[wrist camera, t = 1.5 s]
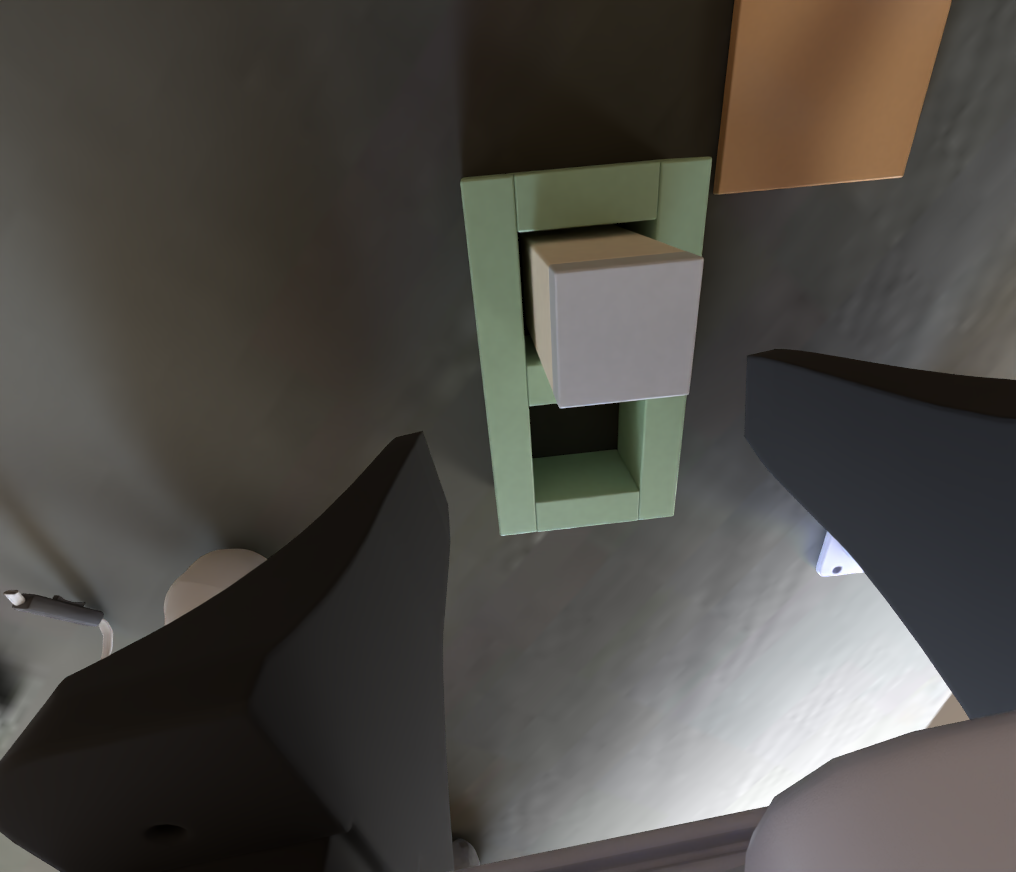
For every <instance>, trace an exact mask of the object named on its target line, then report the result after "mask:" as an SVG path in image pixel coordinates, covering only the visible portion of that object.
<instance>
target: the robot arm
mask: <svg viewBox="0 0 1016 872" xmlns="http://www.w3.org/2000/svg"><path fill="white" fill-rule="evenodd" d="M744 437H745V438H746V440H747V441H748V443H749V444H750V446H751V447H752V449H753V450H754V452H755V453H756V455H757V456H758V457H759V459H760V460H761V461H762V463H763V464H764V465H765V467H766V468H767V469H768V471H769V472H770V473H771V474H772V475H773V476H774V477H775V478H776V479H777V480H778V481H779V482H780V483H781V484H782V485H783V486H784V487H785V489H786V490H787V491H788V492H789V493H790V494H791V495H792V496H793V497H794V498H795V499H796V500H797V501H798V502H799V503H800V504H801V505H802V506H803V507H804V508H805V509H806V510H807V511H808V512H809V513H810V514H811V515H812V516H813V517H814V518H815V519H816V520H817V521H818V522H819V523H820V524H821V525H822V526H823V527H824V528H825V529H826V530H827V533H826V536H825V540H824V543H823V546H822V549H821V553H820V556H819V559H818V562H817V566H816V571H817V572H818V573H819V574H820V575H821V576H823V577H827V576H836V575H844V574H852V573H861V572H864V573H865V574H866V575H867V576H868V578H869V579H870V580H871V581H872V583H873V584H874V585H875V587H876V588H877V589H878V590H879V592H880V593H881V594H882V595H883V597H884V598H885V599H886V600H887V602H888V603H889V604H890V606H891V607H892V608H893V610H894V611H895V613H896V614H897V615H898V617H899V618H900V619H901V621H902V622H903V623H904V625H905V626H906V627H907V629H908V630H909V632H910V633H911V634H912V636H913V637H914V638H915V640H916V641H917V642H918V644H919V645H920V646H921V648H922V649H923V651H924V652H925V654H926V655H927V657H928V658H929V659H930V661H931V662H932V664H933V665H934V667H935V668H936V670H937V671H938V673H939V674H940V675H941V677H942V678H943V680H944V681H945V683H946V684H947V686H948V687H949V689H950V690H951V691H952V693H953V694H954V696H955V697H956V699H957V700H958V702H959V703H960V705H961V706H962V708H963V709H964V711H965V712H966V714H967V716H968V717H969V719H970V720H966V721H962V722H957V723H952V724H947V725H942V726H938V727H934V728H928V729H923V730H918V731H914V732H910V733H907V734H904V735H901V736H898V737H896V738H893V739H890V740H887V741H884V742H881V743H878V744H875V745H872V746H869V747H866V748H863V749H860V750H857V751H854V752H851V753H848V754H845V755H842V756H839V757H836V758H833V759H832V760H830V761H829V762H827V763H825V764H824V765H822V766H821V767H819V768H818V769H816V770H815V771H813V772H812V773H810V774H809V775H807V776H806V777H804V778H803V779H801V780H800V781H798V782H797V783H795V784H793V785H792V786H790V787H789V788H787V789H786V790H784V791H783V792H781V793H780V794H778V795H777V796H775V797H774V799H773V800H772V802H771V804H770V805H769V806H767V807H762V808H757V809H752V810H747V811H743V812H738V813H733V814H728V815H723V816H718V817H713V818H708V819H704V820H699V821H694V822H689V823H684V824H679V825H674V826H670V827H665V828H660V829H655V830H650V831H645V832H640V833H635V834H631V835H626V836H621V837H616V838H611V839H606V840H601V841H596V842H592V843H587V844H582V845H577V846H572V847H567V848H562V849H558V850H553V851H548V852H543V853H538V854H533V855H528V856H523V857H519V858H514V859H509V860H504V861H499V862H494V863H489V864H484V865H480V866H475V867H470V868H465V869H460V870H455V871H454V858H453V845H452V832H451V820H450V805H449V788H448V772H447V755H446V735H445V712H444V683H443V629H444V616H445V604H446V592H447V580H448V567H449V554H450V526H449V512H448V503H447V500H446V497H445V494H444V491H443V489H442V486H441V483H440V480H439V477H438V474H437V471H436V468H435V466H434V463H433V460H432V457H431V454H430V451H429V448H428V445H427V443H426V440H425V437H424V434H423V431H421V432H417V433H413V434H408V435H404V436H400V437H396V438H395V439H393V440H392V441H391V442H390V443H389V444H388V445H387V446H386V447H385V448H384V449H383V450H382V452H381V453H380V454H379V455H378V456H377V457H376V458H375V459H374V460H373V462H372V463H371V464H370V465H369V466H368V467H367V468H366V469H365V470H364V472H363V473H362V474H361V475H360V476H359V477H358V478H357V479H356V480H355V481H354V483H353V484H352V485H351V486H350V487H349V488H348V489H347V490H346V491H345V492H344V493H343V494H342V495H341V496H340V497H339V498H338V499H337V500H336V501H335V502H334V503H333V504H332V505H331V506H330V507H329V508H328V509H327V510H326V511H325V512H324V513H323V514H322V515H321V516H320V517H318V518H317V519H316V520H315V521H314V522H313V523H312V524H311V525H310V526H308V527H307V528H306V529H305V530H304V531H303V532H302V533H300V534H299V535H298V536H297V537H295V538H294V539H293V540H292V541H291V542H289V543H288V544H287V545H286V546H284V547H283V548H282V549H281V550H279V551H278V552H277V553H276V554H274V555H273V556H271V557H270V558H269V559H267V560H266V561H264V562H263V563H262V564H260V565H259V566H257V567H256V568H255V569H253V570H252V571H250V572H249V573H248V574H246V575H245V576H243V577H242V578H240V579H239V580H238V581H236V582H235V583H233V584H232V585H231V586H229V587H228V588H226V589H225V590H223V591H221V592H220V593H218V594H217V595H215V596H213V597H212V598H210V599H209V600H207V601H206V602H204V603H202V604H201V605H199V606H198V607H196V608H194V609H193V610H191V611H189V612H187V613H186V614H184V615H182V616H181V617H179V618H177V619H176V620H174V621H172V622H171V623H169V624H167V625H165V626H164V627H162V628H160V629H158V630H156V631H155V632H153V633H151V634H149V635H147V636H146V637H144V638H142V639H140V640H138V641H136V642H134V643H132V644H130V645H128V646H126V647H124V648H123V649H121V650H119V651H117V652H115V653H113V654H111V655H109V656H107V657H105V658H103V659H101V660H100V661H98V662H96V663H94V664H92V665H90V666H88V667H86V668H84V669H82V670H80V671H78V672H76V673H74V674H72V675H70V676H68V677H66V678H65V679H64V680H63V681H62V682H61V683H60V684H59V685H58V687H57V688H56V689H55V691H54V692H53V693H52V695H51V696H50V697H49V699H48V700H47V701H46V703H45V704H44V705H43V707H42V708H41V709H40V710H39V712H38V713H37V714H36V716H35V717H34V718H33V719H32V721H31V722H30V723H29V725H28V726H27V727H26V729H25V730H24V731H23V732H22V734H21V735H20V736H19V738H18V739H17V740H16V741H15V743H14V744H13V745H12V747H11V748H10V749H9V750H8V752H7V753H6V754H5V756H4V757H3V758H2V759H1V761H0V832H1V833H2V834H4V835H5V836H6V837H7V838H9V839H10V840H11V841H12V842H14V843H15V844H17V845H18V846H20V847H22V848H23V849H25V850H26V851H28V852H30V853H31V854H33V855H34V856H36V857H38V858H39V859H41V860H43V861H44V862H46V863H47V864H49V865H51V866H52V867H54V868H55V869H57V870H59V871H60V872H1016V380H1010V379H997V378H984V377H974V376H964V375H955V374H947V373H940V372H932V371H925V370H917V369H910V368H903V367H897V366H890V365H884V364H878V363H872V362H866V361H860V360H855V359H849V358H843V357H837V356H831V355H825V354H819V353H813V352H805V351H798V350H787V349H774V350H769V351H765V352H761V353H757V354H752V355H748V356H747V374H746V405H745V435H744Z"/></svg>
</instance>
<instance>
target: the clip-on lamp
mask: <svg viewBox="0 0 1016 872" xmlns="http://www.w3.org/2000/svg"><path fill="white" fill-rule="evenodd" d="M266 560H267V558H265V557H263V556H262V555H260V554H258V553H256V552H254V551H251V550H247V549H220V550H216V551H212V552H210V553H208V554H205V555H203V556H201V557H200V558H199V559H198V560H197V561H195V562H194V563H193V564H192V565H191V566H190V567H189V568H188V569H187V571H186V572H185V573H183V574H182V575H181V576H180V577H179V578H178V579H176V581H175V582H174V583H173V584H172V586H171V587H170V589H169V591H168V592H167V594H166V598H165V601H164V614H165V625H167V624H169V623H171V622H172V621H174V620H176V619H177V618H179V617H181V616H182V615H184V614H186V613H187V612H189V611H191V610H193V609H194V608H196V607H198V606H199V605H201V604H202V603H204V602H206V601H207V600H209V599H210V598H212V597H213V596H215V595H217V594H218V593H220V592H221V591H223V590H225V589H226V588H228V587H229V586H231V585H232V584H233V583H235V582H236V581H238V580H239V579H240V578H242V577H243V576H245V575H246V574H248V573H249V572H250V571H252V570H253V569H255V568H256V567H257V566H259V565H260V564H262V563H263V562H264V561H266ZM4 595H5V596H6V597H7V598H8V599H9V600H10V601H11V602H12V603H13V606H12V607H13V608H14V609H15V610H19V611H23V612H28V613H32V614H36V615H41V616H45V617H50V618H54V619H59V620H63V621H68V622H72V623H76V624H81V625H88V626H97V625H98V626H99V628H100V630H101V632H102V634H103V652H102V656H101V659H103V658H105V657H107V656H109V655H111V651H112V643H113V630H112V628H111V626H110V625H109V623H108V621H107V620H105V619H103V615H104V614H103V613H102V612H101V611H97V610H93V609H90V608H86V607H83V606H84V605H85V602H71V601H67V600H65V599H63V598H62V597H60V596H57V595H54V597H53V599H51V598H47V597H43V596H39V595H35V594H24V593H23V594H21V593H20V592H19V591H18V590H8V591H5V592H4Z"/></svg>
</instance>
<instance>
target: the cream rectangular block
mask: <svg viewBox="0 0 1016 872" xmlns="http://www.w3.org/2000/svg"><path fill="white" fill-rule="evenodd" d="M521 251H522V267H523V283H524V299H525V315H526V325H527V328H528V331H529V333H530V336H531V338H532V341H533V343H534V346H535V348H536V351H537V353H538V356H539V358H540V361H541V363H542V366H543V368H544V371H545V373H546V376H547V378H548V381H549V383H550V386H551V388H552V391H553V394H554V397H555V399H556V402H557V404H558V407H559V408H569V407H579V406H588V405H597V404H607V403H616V402H626V401H635V400H644V399H654V398H663V397H672V396H682V395H688V394H689V390H690V381H691V372H692V363H693V354H694V345H695V336H696V327H697V318H698V309H699V299H700V290H701V281H702V272H703V263H704V258H703V257H701V256H698V255H696V254H693V253H690V252H688V251H684V250H681V249H678V248H676V247H673V246H670V245H667V244H665V243H662V242H659V241H657V240H654V239H651V238H649V237H646V236H643V235H640V234H638V233H635V232H632V231H630V230H627V229H624V228H622V227H619V226H616V225H613V224H609V225H598V226H588V227H577V228H567V229H556V230H546V231H535V232H525V233H521Z"/></svg>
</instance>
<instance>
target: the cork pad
mask: <svg viewBox="0 0 1016 872" xmlns="http://www.w3.org/2000/svg"><path fill="white" fill-rule="evenodd" d="M951 2H952V0H735V1H734V10H733V19H732V27H731V36H730V45H729V54H728V63H727V72H726V81H725V90H724V99H723V108H722V117H721V126H720V135H719V143H718V152H717V161H716V170H715V179H714V188H713V194H730V193H741V192H751V191H762V190H772V189H783V188H794V187H804V186H815V185H825V184H836V183H847V182H857V181H868V180H878V179H889V178H900V177H903V174H904V171H905V167H906V164H907V160H908V156H909V153H910V149H911V146H912V142H913V138H914V135H915V131H916V128H917V124H918V120H919V117H920V113H921V110H922V106H923V102H924V99H925V95H926V92H927V88H928V84H929V81H930V77H931V74H932V70H933V66H934V63H935V59H936V56H937V52H938V48H939V45H940V41H941V38H942V34H943V30H944V27H945V23H946V20H947V16H948V12H949V9H950V5H951Z"/></svg>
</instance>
